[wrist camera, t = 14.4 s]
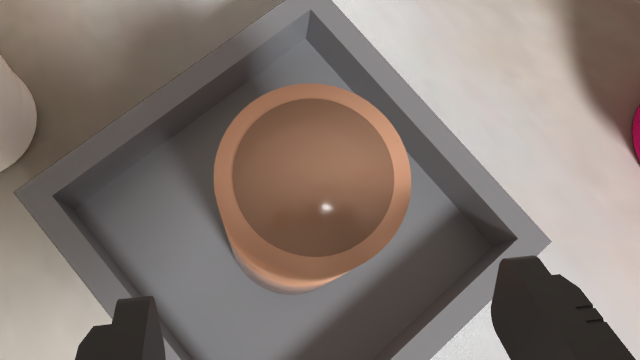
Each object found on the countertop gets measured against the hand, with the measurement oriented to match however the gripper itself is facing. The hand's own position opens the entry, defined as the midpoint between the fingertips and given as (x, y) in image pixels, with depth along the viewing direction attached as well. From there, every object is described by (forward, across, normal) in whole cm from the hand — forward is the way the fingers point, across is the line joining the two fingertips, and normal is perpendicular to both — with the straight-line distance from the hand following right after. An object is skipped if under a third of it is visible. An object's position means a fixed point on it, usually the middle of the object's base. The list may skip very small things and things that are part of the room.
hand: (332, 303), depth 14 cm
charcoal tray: (+11, 0, +6) cm, 13 cm away
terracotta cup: (+11, 0, +6) cm, 12 cm away
